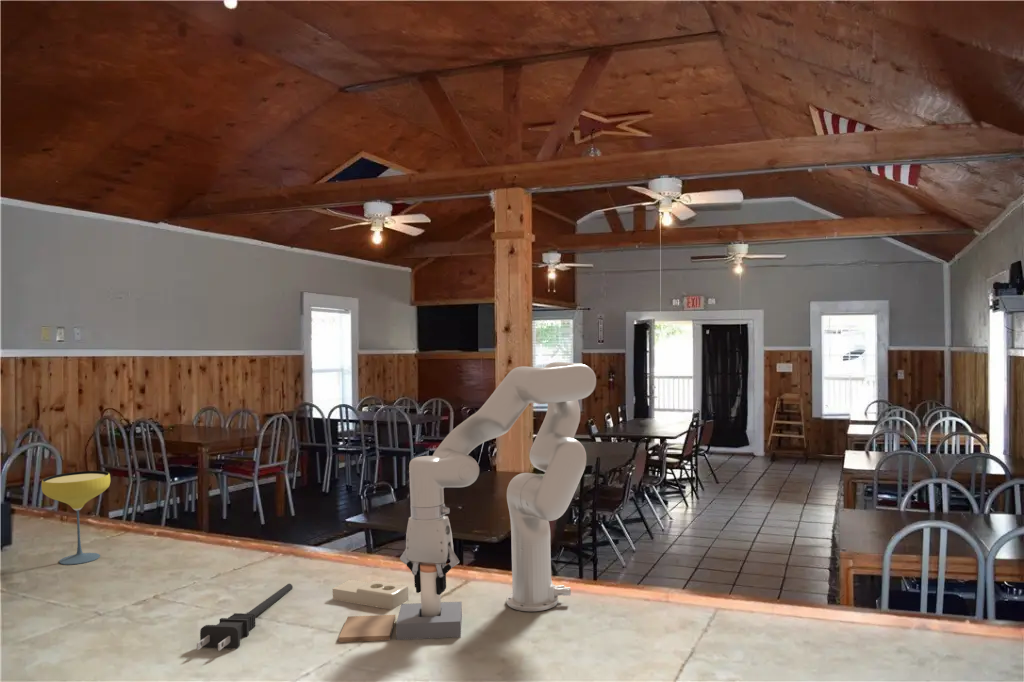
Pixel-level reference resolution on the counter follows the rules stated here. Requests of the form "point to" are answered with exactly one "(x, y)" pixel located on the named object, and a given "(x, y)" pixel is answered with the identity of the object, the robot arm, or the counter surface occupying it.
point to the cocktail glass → (76, 500)
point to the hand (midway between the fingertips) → (430, 590)
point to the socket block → (429, 622)
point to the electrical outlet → (372, 593)
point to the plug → (429, 591)
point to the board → (367, 628)
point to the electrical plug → (235, 625)
